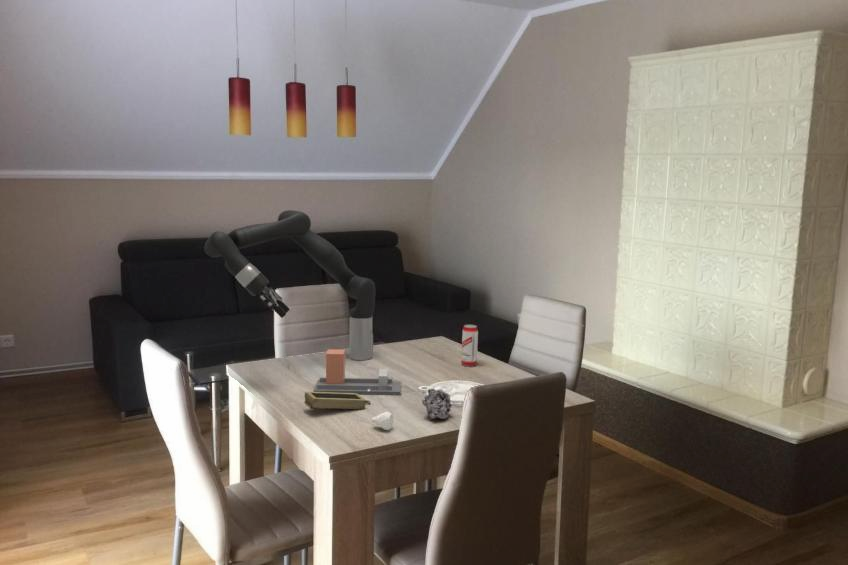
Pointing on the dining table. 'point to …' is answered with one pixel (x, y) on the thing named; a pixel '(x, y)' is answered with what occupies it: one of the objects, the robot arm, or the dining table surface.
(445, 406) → the mineral specimen
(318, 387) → the grey slide track
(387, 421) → the white seashell
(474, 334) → the beer can
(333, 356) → the salmon rectangular block
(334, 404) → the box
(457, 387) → the medallion
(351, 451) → the dining table surface
